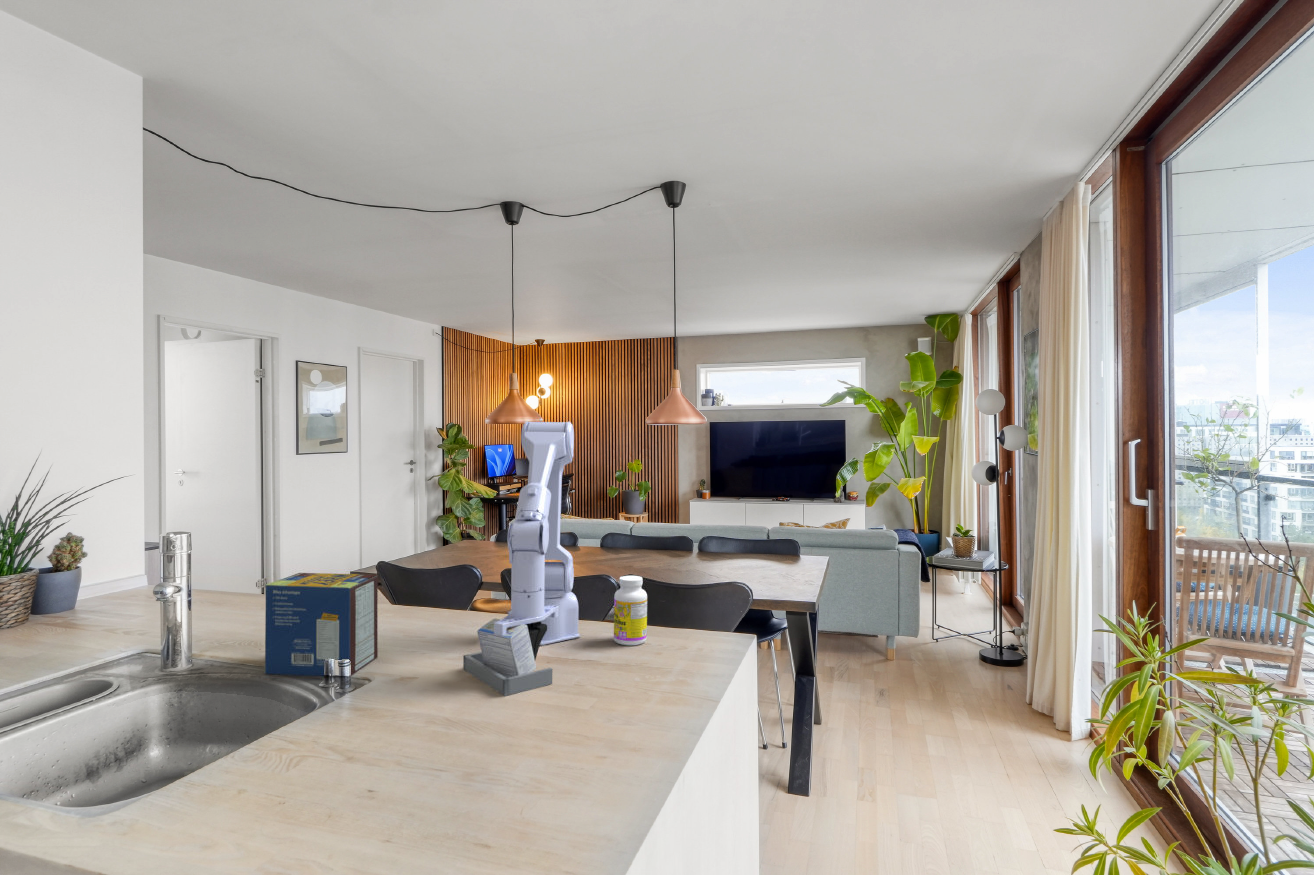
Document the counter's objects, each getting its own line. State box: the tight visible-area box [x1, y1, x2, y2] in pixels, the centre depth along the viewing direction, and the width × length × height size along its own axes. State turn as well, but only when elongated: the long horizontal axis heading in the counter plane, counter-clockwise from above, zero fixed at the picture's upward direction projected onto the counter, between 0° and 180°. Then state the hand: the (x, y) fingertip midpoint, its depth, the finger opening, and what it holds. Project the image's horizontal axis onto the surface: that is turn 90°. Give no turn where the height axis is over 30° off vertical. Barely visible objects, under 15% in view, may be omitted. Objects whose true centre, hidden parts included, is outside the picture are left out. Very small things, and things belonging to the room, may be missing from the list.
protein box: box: [264, 572, 379, 677], centre depth 123 cm, size 10×15×16 cm
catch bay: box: [462, 651, 553, 697], centre depth 119 cm, size 9×16×2 cm, turn 40°
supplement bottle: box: [613, 575, 648, 647], centre depth 139 cm, size 7×7×13 cm
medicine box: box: [476, 618, 537, 678], centre depth 118 cm, size 8×4×9 cm, turn 58°
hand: (527, 666), depth 121 cm, fingers closed
